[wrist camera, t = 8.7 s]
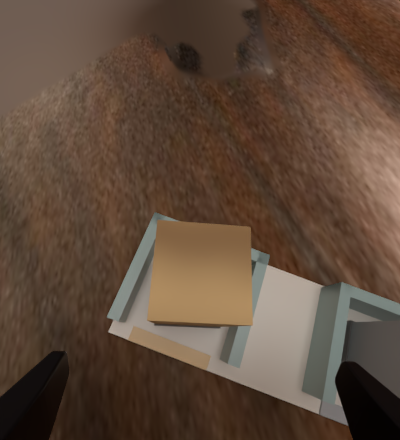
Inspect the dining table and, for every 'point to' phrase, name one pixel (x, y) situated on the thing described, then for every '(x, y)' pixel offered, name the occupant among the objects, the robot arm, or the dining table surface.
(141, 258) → the slot rack
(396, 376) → the grey plug block
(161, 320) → the amber plug block
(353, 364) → the robot arm
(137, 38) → the dining table surface
